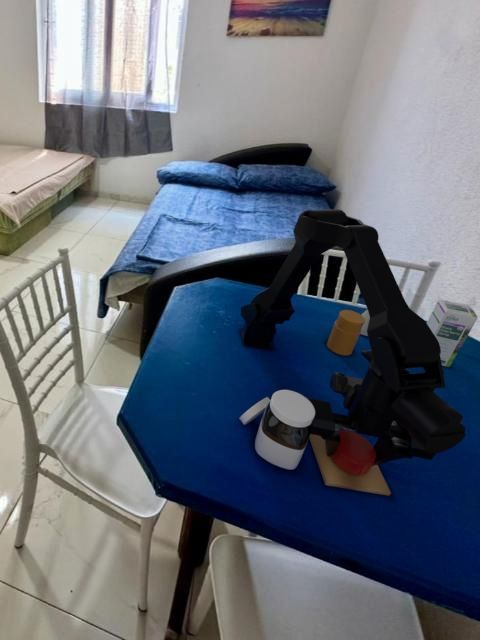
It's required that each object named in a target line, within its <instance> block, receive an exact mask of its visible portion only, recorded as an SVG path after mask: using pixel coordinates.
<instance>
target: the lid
mask: <svg viewBox="0 0 480 640" xmlns="http://www.w3.org/2000/svg"><path fill="white" fill-rule="evenodd" d="M339 436H340V440H341V443H340V444H339V446H338V447H337V449H336V450H335V452H334V453H333V454H332V455H331V456H330V458H331V459H332V461H333V462H334V463H335V464H336V465H337V466H338V467H339V468H340V469H342V470H343V471H345V472H347V473H349V474H352V475H359V476H360V475H365V474H366V473H368V471H370V469H371V467H372V465H373V464H374V462H375V459H376V451H375V449H374V445H373V444H372V443H371V442H370V441H369V440H368V439H367V438H365V437H364V436H363V435H362V434H359V433H356V432H353V431H348V430H343V429H341V430H340V431H339Z"/></svg>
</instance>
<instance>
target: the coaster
mask: <svg viewBox="0 0 480 640" xmlns="http://www.w3.org/2000/svg"><path fill="white" fill-rule="evenodd" d="M309 441H310V444H311V447H312V450H313V453H314V456H315V460H316V461H317V465H318V467H319V470H320V474H321V476H322V479H323V482H324V485H325V486H328V487H333V488H334V487H335V488H341V489H347V490H352V491H359V492H365V493H371V494H374V495H375V494H376V495H382V496H388V497H389V496H391V494H392V492H391V490H390V488H389V486H388V483H387V481H386V480H385V478H384V475H383V472H382V471H381V468H380V466H379V464H378V465H374V466H372V467H371V469H370V471H368V473H366V474H365V475H360V476H359V475H352V474H349V473H347V472H345V471H343V470H342V469H340V468H339V467H338V466H337V465H336V464H335V463H334V462H333V461H332V459H331V458H330V457H328V456H327V453H326V445H325V440H324V439H322V438H321V436H318V435H313V434H310V437H309Z"/></svg>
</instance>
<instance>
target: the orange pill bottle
mask: <svg viewBox="0 0 480 640" xmlns="http://www.w3.org/2000/svg"><path fill="white" fill-rule="evenodd" d="M364 323H365V318H364V317H363V316H362V314H360V313H359V312H356V311H353V310H351V309H342V310H340V311H339V314H338V316H337V318H336V320H335V321H334V324H333V326H332V329H331V332H330V334H329V337H328V339H327V342H326V347H327V348H328V349H329V350H330V351H331V352H333V353H335V354H337V355H340V356H351V355H352V354H353V353H354V350H355V347H356V345H357V343H358V341H359V338H360V336H361V335H362V334H361V329H362V326H363V324H364Z"/></svg>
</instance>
